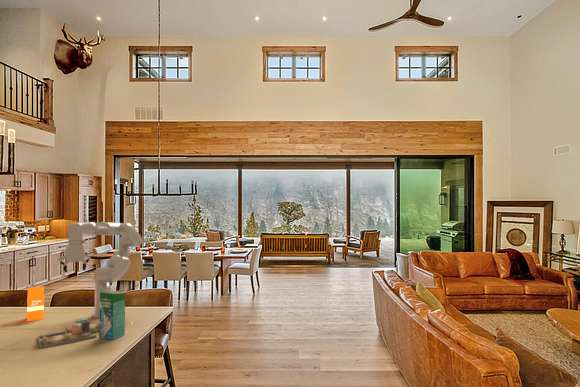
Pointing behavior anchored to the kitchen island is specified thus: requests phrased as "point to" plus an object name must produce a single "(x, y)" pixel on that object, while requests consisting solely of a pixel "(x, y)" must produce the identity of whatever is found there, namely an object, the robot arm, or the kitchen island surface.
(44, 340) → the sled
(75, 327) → the rounded peach cylinder
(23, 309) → the kitchen island surface
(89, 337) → the lane frame
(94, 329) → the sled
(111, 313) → the milk carton
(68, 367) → the kitchen island surface
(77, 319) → the teal cube
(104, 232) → the robot arm
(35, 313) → the orange juice
